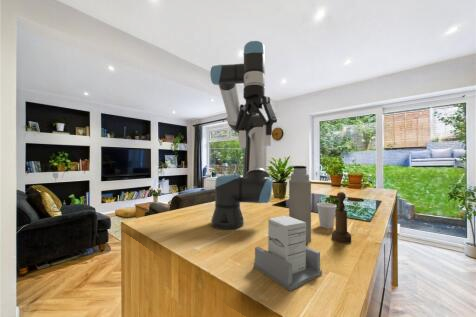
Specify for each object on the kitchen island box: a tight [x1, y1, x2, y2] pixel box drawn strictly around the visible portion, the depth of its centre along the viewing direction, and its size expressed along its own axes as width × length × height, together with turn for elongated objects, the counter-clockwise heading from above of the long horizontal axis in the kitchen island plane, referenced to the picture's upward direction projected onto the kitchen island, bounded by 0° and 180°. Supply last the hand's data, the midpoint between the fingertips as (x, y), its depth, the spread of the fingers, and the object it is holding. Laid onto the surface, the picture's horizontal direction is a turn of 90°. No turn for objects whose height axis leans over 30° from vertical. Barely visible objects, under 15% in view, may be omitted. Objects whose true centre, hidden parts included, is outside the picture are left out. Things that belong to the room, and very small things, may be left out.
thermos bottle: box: [288, 165, 312, 244], centre depth 77 cm, size 8×8×28 cm
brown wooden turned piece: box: [331, 191, 352, 244], centre depth 77 cm, size 7×6×18 cm
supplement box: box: [267, 215, 307, 274], centre depth 54 cm, size 7×7×13 cm
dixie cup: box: [316, 202, 338, 229], centre depth 92 cm, size 8×8×10 cm
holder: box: [253, 246, 323, 292], centre depth 54 cm, size 13×12×6 cm
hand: (253, 146), depth 72 cm, fingers open, 13 cm apart
